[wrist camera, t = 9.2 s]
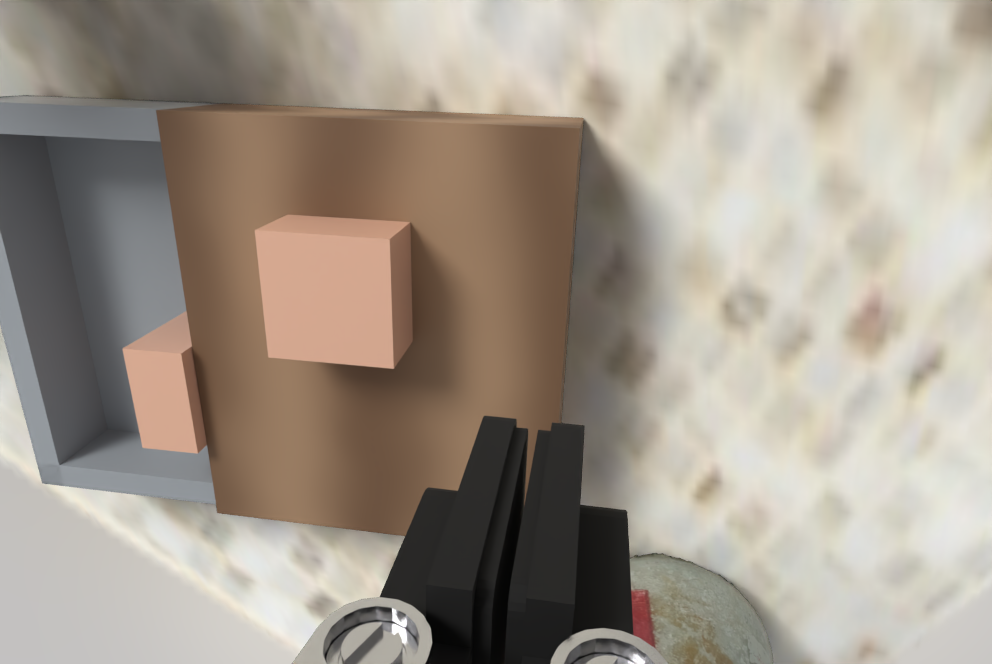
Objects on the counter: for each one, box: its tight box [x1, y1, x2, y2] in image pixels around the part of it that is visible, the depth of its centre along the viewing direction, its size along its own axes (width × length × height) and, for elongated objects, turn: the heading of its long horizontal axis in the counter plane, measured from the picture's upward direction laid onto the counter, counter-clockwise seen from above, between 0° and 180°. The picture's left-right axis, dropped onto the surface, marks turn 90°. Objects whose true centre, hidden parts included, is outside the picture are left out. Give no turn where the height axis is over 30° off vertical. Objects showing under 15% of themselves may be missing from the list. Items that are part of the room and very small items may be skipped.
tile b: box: [255, 215, 413, 369], centre depth 21 cm, size 4×4×2 cm
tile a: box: [123, 311, 207, 454], centre depth 26 cm, size 4×4×2 cm
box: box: [0, 95, 223, 504], centre depth 26 cm, size 8×15×4 cm, turn 178°
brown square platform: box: [156, 103, 584, 536], centre depth 25 cm, size 13×15×4 cm
